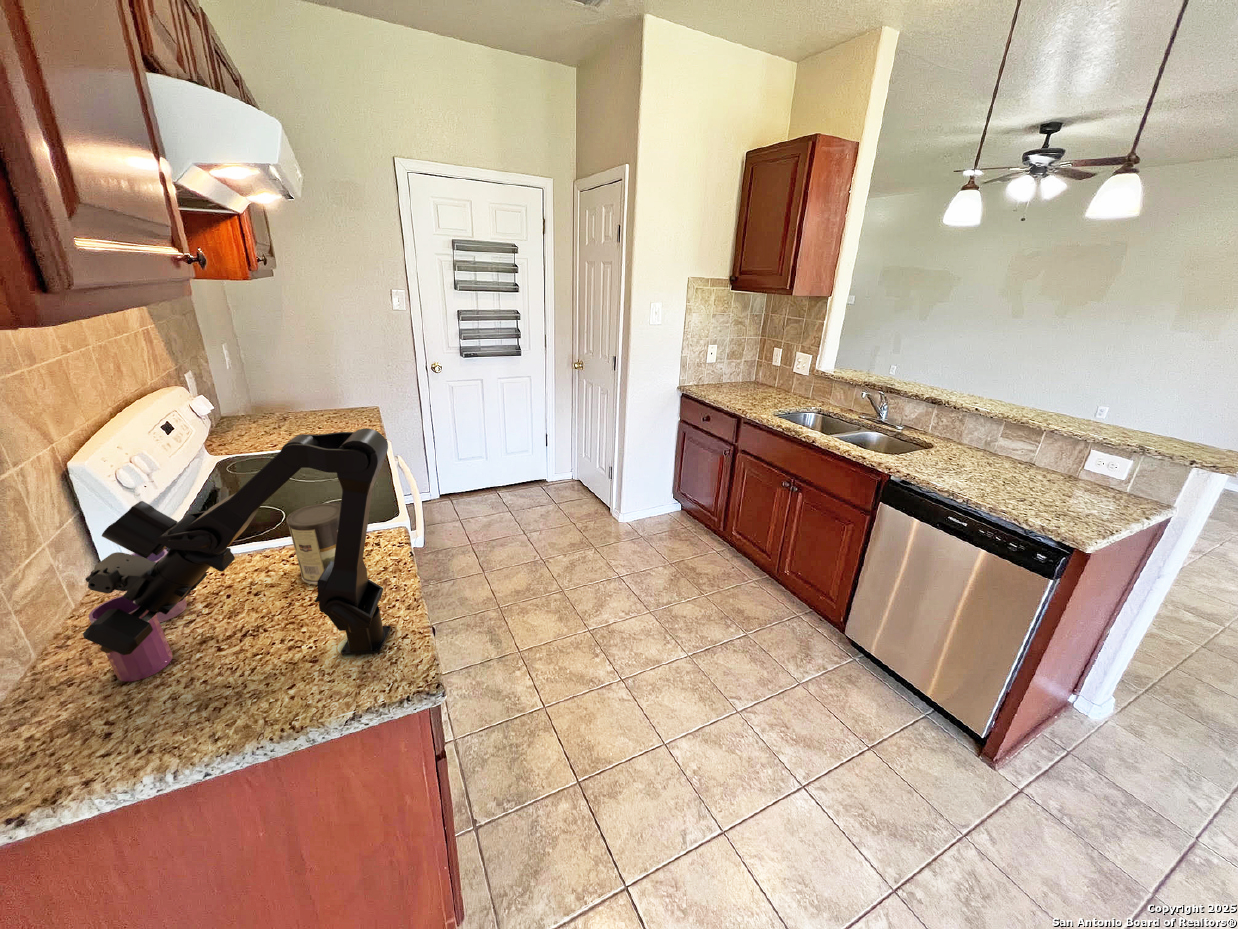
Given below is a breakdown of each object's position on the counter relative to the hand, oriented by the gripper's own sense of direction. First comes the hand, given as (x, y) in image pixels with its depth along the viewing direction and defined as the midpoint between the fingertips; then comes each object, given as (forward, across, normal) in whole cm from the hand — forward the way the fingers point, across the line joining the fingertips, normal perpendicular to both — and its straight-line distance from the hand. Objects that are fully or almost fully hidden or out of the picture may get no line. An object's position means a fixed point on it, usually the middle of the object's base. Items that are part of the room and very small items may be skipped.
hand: (121, 634), depth 78 cm
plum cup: (+4, 0, +6) cm, 7 cm away
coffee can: (-10, -24, +20) cm, 33 cm away
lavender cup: (+8, -14, +2) cm, 17 cm away
